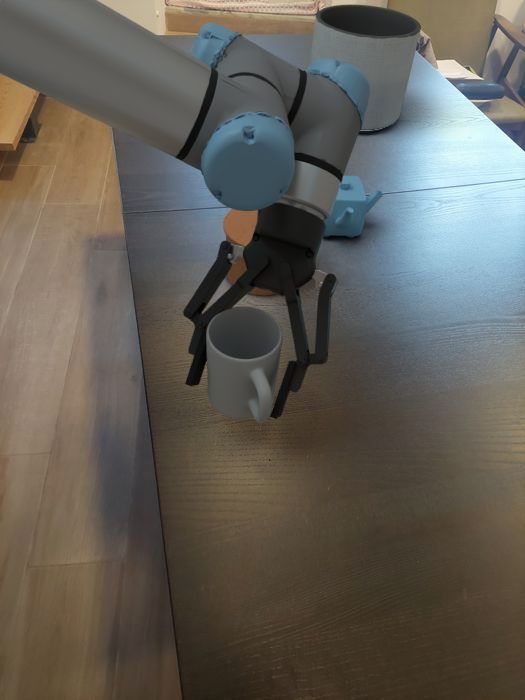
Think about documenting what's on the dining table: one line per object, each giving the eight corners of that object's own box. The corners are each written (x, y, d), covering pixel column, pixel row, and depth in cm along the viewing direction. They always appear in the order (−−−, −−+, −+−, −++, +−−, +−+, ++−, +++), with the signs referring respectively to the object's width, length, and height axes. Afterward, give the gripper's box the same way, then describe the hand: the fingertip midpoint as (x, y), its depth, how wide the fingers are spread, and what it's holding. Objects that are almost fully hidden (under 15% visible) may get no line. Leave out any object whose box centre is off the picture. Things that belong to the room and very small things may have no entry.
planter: (305, 90, 145) (315, -1, 129) (394, 99, 145) (415, 8, 128) (302, 130, 128) (313, 31, 112) (402, 140, 128) (429, 42, 111)
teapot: (300, 201, 107) (306, 155, 99) (366, 203, 107) (377, 157, 100) (309, 254, 95) (316, 207, 87) (383, 256, 95) (397, 209, 88)
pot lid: (222, 254, 79) (222, 231, 76) (223, 206, 88) (223, 184, 85) (308, 256, 80) (311, 234, 77) (300, 208, 89) (303, 186, 86)
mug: (199, 375, 65) (196, 314, 57) (260, 359, 68) (266, 298, 60) (228, 453, 58) (230, 396, 50) (297, 432, 60) (309, 374, 52)
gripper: (393, 247, 58) (329, 430, 59) (215, 195, 63) (160, 366, 64) (395, 232, 50) (321, 442, 52) (193, 175, 55) (132, 368, 57)
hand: (232, 400), depth 58 cm, fingers closed on mug, 10 cm apart
